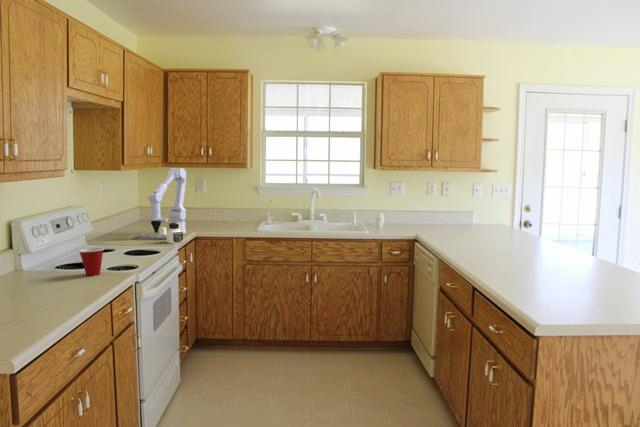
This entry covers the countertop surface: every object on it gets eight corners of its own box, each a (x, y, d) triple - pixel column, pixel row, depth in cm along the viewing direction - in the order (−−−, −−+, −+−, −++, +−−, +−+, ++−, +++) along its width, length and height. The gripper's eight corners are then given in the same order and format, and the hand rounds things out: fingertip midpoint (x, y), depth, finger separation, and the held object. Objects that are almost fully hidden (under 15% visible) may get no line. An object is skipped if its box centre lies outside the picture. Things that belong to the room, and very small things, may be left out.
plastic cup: (97, 270, 239) (96, 245, 238) (110, 274, 233) (109, 248, 231) (74, 275, 230) (73, 249, 229) (87, 278, 224) (86, 251, 223)
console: (142, 235, 337) (142, 231, 336) (175, 236, 334) (175, 232, 334) (133, 239, 323) (133, 235, 322) (166, 240, 321) (166, 236, 320)
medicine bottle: (173, 243, 308) (173, 224, 306) (166, 242, 312) (165, 223, 311) (183, 242, 314) (182, 222, 312) (176, 240, 318) (175, 221, 316)
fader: (161, 235, 330) (161, 227, 329) (166, 235, 329) (166, 227, 329) (159, 235, 326) (159, 227, 326) (164, 235, 326) (164, 227, 325)
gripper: (142, 212, 323) (142, 233, 325) (164, 212, 322) (165, 233, 323) (146, 210, 330) (147, 231, 332) (168, 211, 329) (169, 232, 330)
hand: (156, 232), depth 328 cm, fingers closed
